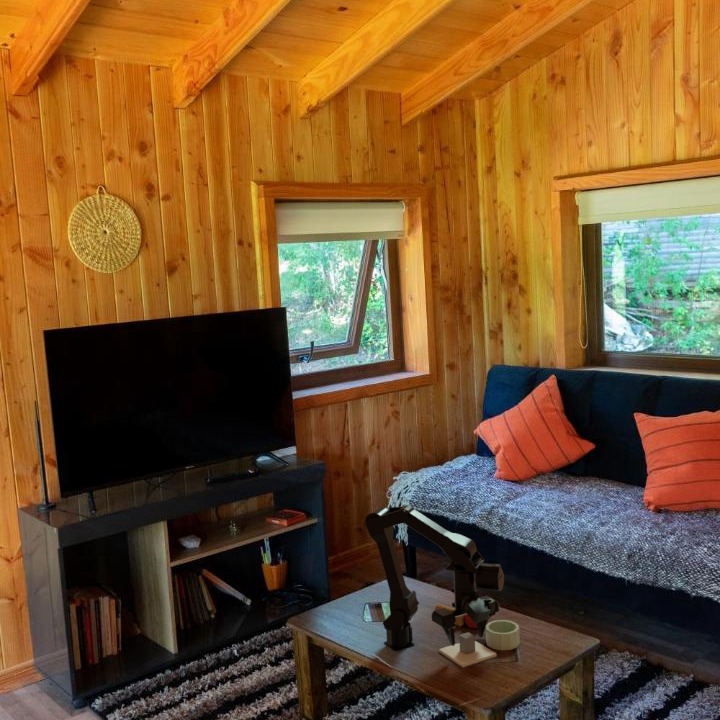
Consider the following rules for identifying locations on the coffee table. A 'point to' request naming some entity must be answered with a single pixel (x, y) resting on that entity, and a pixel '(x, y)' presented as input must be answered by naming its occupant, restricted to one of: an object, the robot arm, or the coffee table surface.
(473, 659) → the lid
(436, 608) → the kendama
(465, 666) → the gray square plate
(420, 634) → the coffee table surface
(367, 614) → the coffee table surface
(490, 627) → the bowl
